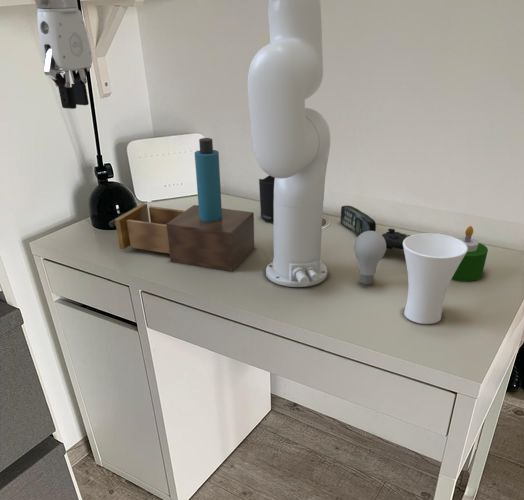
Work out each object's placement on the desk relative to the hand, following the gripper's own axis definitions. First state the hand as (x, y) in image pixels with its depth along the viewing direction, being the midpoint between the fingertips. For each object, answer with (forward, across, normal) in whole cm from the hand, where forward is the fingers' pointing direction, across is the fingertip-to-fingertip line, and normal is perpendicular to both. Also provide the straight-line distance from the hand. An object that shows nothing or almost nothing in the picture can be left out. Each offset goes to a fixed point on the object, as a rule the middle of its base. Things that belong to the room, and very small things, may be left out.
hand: (75, 105), depth 114 cm
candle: (+29, +10, -82) cm, 87 cm away
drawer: (+28, 0, -14) cm, 32 cm away
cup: (+29, -11, -77) cm, 83 cm away
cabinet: (+29, 0, -30) cm, 42 cm away
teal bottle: (+21, 0, -30) cm, 36 cm away
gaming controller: (+29, +13, -69) cm, 76 cm away
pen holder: (+29, +27, -35) cm, 53 cm away
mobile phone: (+29, +24, -57) cm, 69 cm away
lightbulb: (+29, -2, -65) cm, 71 cm away
